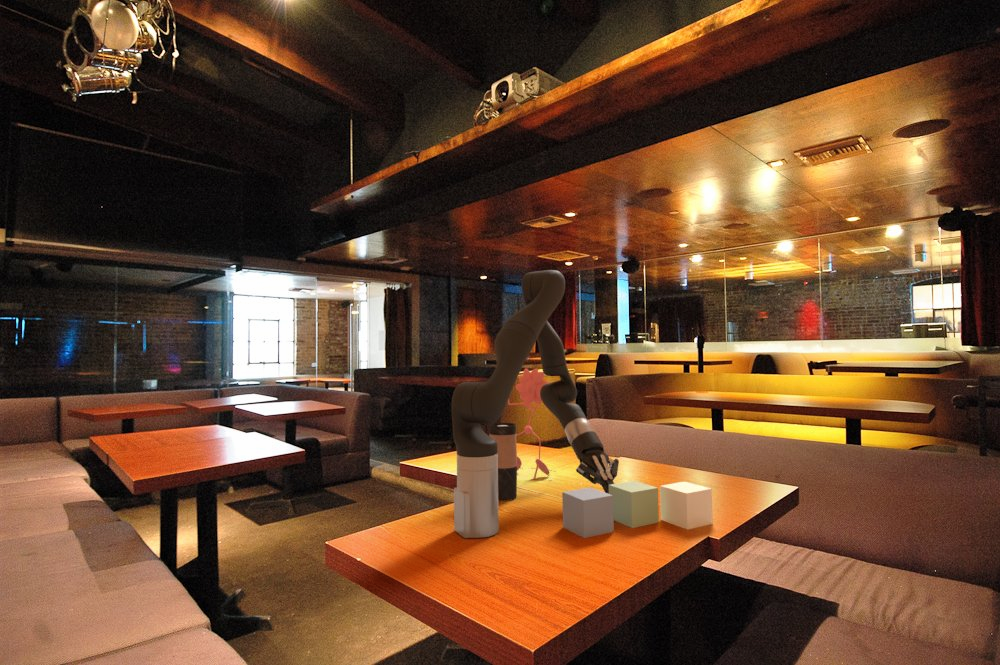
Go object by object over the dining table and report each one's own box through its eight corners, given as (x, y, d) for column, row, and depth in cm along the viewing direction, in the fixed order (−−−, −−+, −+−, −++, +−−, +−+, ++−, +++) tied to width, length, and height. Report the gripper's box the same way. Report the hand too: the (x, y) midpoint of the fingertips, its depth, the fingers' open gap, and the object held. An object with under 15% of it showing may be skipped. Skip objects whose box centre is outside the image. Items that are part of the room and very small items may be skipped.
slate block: (584, 538, 110) (583, 500, 110) (563, 527, 117) (562, 492, 117) (613, 532, 113) (612, 495, 114) (591, 522, 120) (590, 487, 121)
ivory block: (687, 529, 114) (686, 493, 114) (661, 520, 121) (660, 485, 121) (712, 524, 118) (711, 488, 118) (685, 514, 125) (684, 481, 125)
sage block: (632, 528, 115) (631, 492, 116) (609, 518, 123) (608, 484, 123) (658, 522, 119) (657, 487, 120) (635, 513, 126) (634, 480, 127)
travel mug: (521, 498, 140) (520, 425, 141) (495, 502, 137) (494, 427, 138) (511, 492, 147) (509, 422, 148) (486, 495, 145) (485, 423, 145)
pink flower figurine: (555, 483, 156) (554, 368, 159) (489, 473, 172) (489, 368, 174) (580, 475, 168) (578, 368, 171) (516, 466, 184) (516, 368, 186)
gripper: (568, 432, 133) (598, 490, 122) (608, 428, 139) (641, 483, 128) (557, 449, 138) (585, 507, 126) (597, 445, 144) (627, 500, 132)
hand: (613, 495), depth 127 cm, fingers closed
